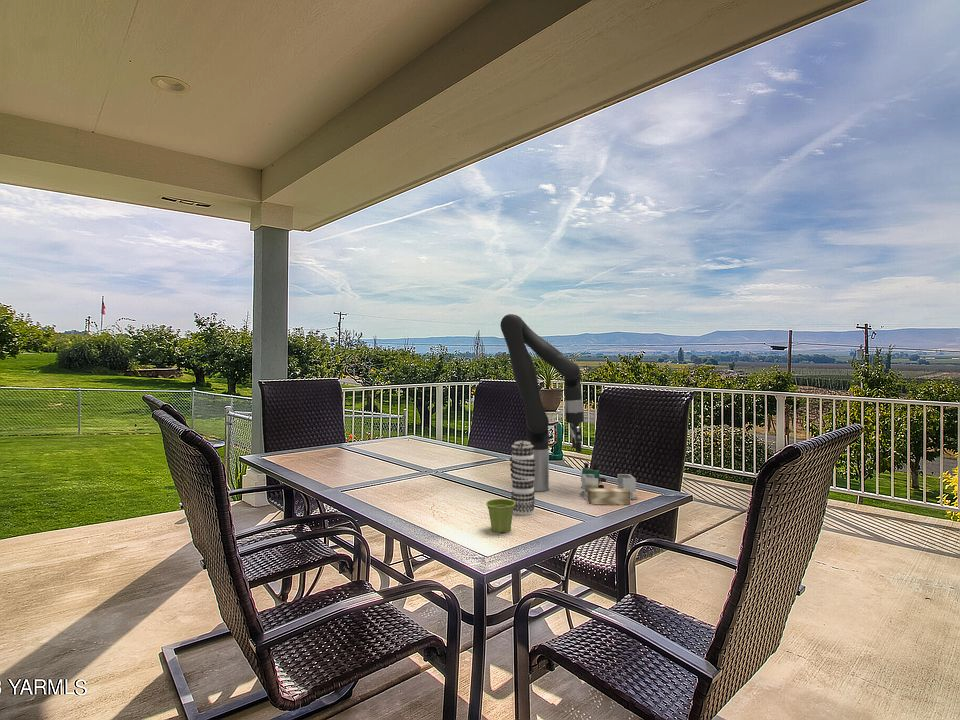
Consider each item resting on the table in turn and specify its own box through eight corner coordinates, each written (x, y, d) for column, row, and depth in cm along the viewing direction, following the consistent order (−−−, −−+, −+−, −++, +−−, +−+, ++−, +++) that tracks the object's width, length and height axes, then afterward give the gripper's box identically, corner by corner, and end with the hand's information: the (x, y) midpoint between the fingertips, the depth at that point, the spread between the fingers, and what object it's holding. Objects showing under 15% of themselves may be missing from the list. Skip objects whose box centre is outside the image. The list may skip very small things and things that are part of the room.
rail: (589, 504, 185) (589, 491, 185) (587, 501, 190) (587, 488, 190) (630, 505, 185) (630, 491, 185) (627, 501, 189) (626, 488, 189)
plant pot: (503, 537, 151) (503, 508, 151) (480, 530, 157) (480, 503, 157) (521, 529, 158) (521, 502, 158) (498, 523, 164) (498, 497, 165)
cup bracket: (584, 499, 193) (584, 478, 193) (581, 493, 201) (581, 474, 201) (636, 499, 192) (636, 478, 192) (630, 493, 201) (630, 474, 201)
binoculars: (609, 464, 212) (596, 465, 205) (608, 489, 211) (594, 491, 204) (592, 461, 219) (578, 462, 212) (590, 485, 218) (577, 487, 211)
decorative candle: (517, 516, 172) (516, 444, 172) (505, 509, 180) (505, 440, 180) (540, 513, 175) (539, 442, 175) (528, 506, 184) (527, 439, 184)
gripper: (562, 409, 212) (565, 447, 212) (567, 413, 198) (570, 453, 198) (580, 408, 212) (582, 446, 212) (586, 411, 198) (589, 452, 198)
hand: (576, 449), depth 205 cm, fingers open, 8 cm apart
